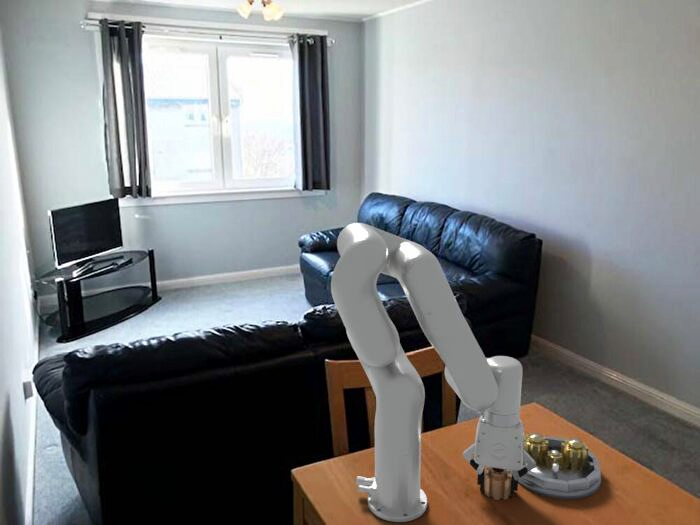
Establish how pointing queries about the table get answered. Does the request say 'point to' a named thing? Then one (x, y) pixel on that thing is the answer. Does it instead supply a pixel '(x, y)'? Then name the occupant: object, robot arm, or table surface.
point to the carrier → (560, 467)
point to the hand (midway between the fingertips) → (497, 489)
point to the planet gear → (497, 483)
